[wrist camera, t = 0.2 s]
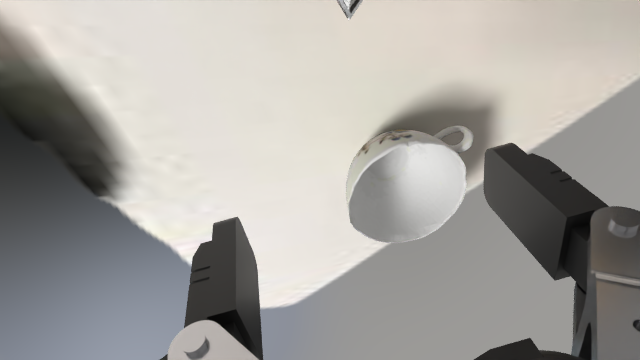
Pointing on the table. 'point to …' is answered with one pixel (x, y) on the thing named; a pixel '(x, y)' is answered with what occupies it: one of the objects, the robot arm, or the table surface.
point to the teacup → (406, 184)
